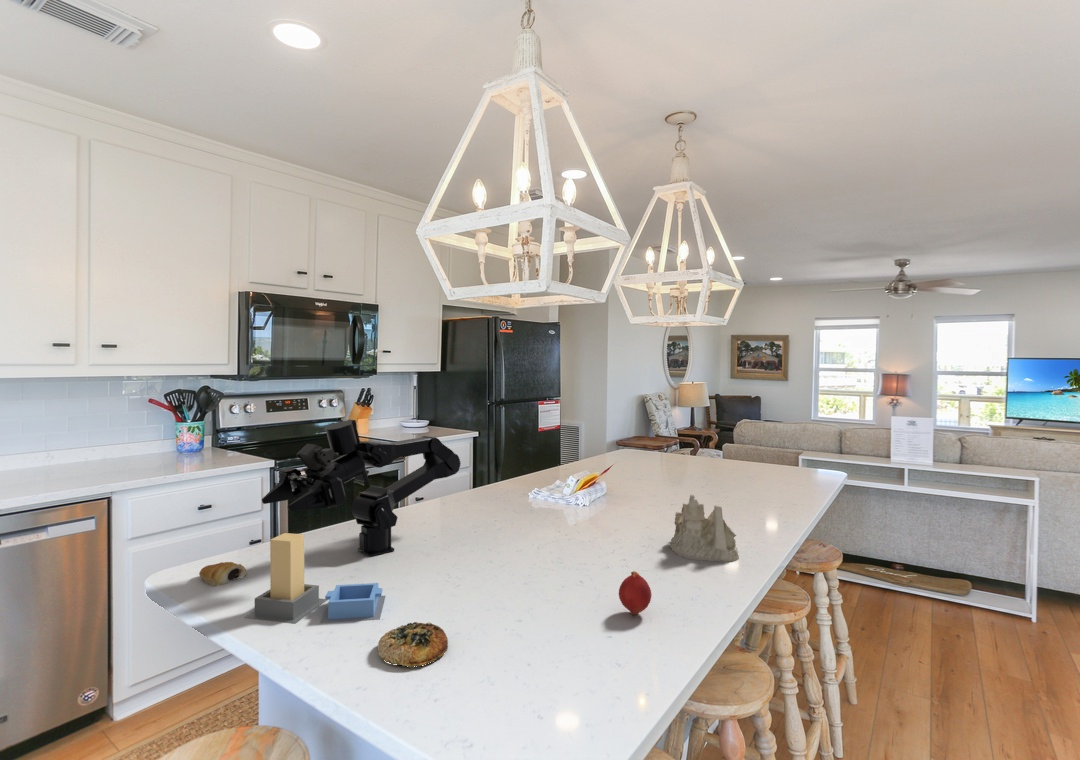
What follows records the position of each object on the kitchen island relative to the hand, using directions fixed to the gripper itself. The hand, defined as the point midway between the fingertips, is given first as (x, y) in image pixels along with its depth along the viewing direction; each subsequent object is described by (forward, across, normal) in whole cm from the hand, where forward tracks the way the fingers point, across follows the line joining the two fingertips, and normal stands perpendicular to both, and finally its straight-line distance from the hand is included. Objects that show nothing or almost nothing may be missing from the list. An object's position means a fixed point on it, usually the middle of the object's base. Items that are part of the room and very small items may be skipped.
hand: (275, 505), depth 113 cm
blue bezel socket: (+3, +23, +16) cm, 28 cm away
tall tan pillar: (+10, +13, +14) cm, 21 cm away
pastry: (+9, -11, +15) cm, 21 cm away
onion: (-24, +65, +24) cm, 74 cm away
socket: (+10, +13, +14) cm, 22 cm away
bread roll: (+7, +42, +16) cm, 45 cm away
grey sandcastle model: (-65, +64, +37) cm, 98 cm away
